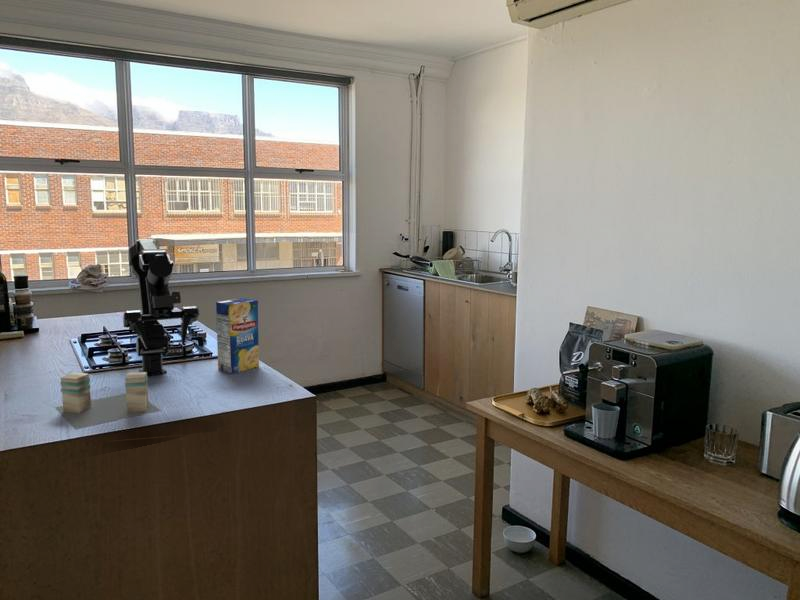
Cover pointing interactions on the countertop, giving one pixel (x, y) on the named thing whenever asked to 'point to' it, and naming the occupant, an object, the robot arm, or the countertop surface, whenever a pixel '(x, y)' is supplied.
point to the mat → (103, 412)
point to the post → (136, 391)
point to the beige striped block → (75, 392)
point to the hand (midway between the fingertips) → (165, 346)
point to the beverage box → (237, 335)
